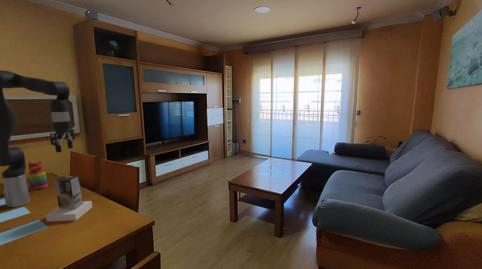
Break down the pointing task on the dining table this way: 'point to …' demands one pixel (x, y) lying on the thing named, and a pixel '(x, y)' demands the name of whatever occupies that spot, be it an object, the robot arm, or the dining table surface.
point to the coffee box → (68, 192)
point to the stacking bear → (36, 177)
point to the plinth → (68, 213)
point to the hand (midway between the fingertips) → (64, 150)
